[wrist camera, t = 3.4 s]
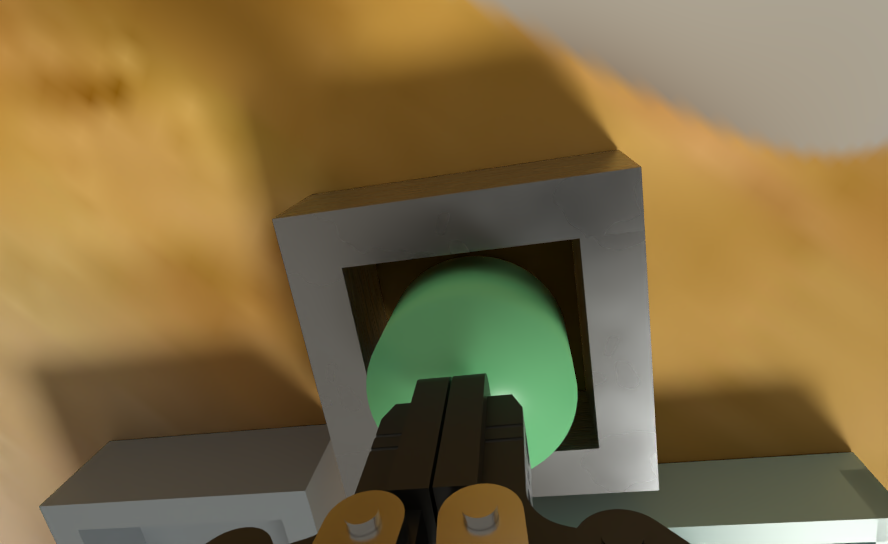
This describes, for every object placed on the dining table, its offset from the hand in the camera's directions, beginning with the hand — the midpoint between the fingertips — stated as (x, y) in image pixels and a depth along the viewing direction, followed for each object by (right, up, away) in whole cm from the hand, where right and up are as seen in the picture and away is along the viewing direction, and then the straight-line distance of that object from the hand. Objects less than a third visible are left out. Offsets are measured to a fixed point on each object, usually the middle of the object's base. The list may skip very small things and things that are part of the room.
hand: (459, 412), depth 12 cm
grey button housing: (+1, +2, +5) cm, 6 cm away
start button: (+1, +1, +4) cm, 4 cm away
